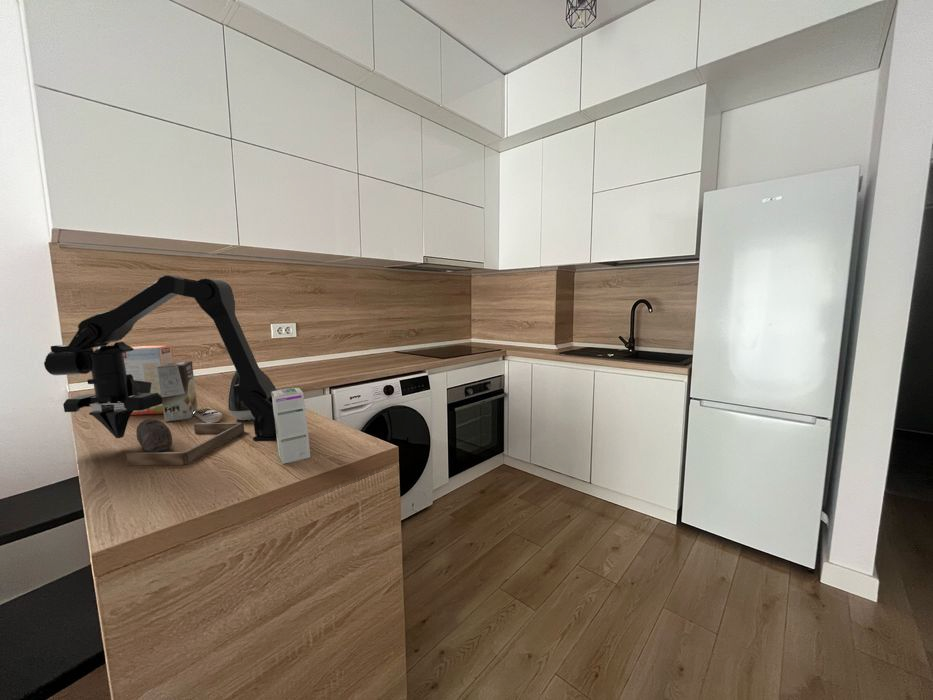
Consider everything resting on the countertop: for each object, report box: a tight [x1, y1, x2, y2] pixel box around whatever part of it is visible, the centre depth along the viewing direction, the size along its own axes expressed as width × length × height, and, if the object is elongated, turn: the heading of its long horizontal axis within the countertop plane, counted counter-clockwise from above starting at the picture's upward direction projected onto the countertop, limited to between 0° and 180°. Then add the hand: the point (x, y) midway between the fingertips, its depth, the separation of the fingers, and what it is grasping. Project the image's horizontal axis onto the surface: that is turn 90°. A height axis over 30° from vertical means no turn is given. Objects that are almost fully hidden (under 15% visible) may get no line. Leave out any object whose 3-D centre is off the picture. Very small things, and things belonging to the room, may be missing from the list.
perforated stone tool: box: [135, 418, 173, 452], centre depth 88 cm, size 15×5×7 cm, turn 50°
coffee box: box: [157, 360, 199, 423], centre depth 112 cm, size 9×6×16 cm
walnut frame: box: [125, 422, 245, 466], centre depth 88 cm, size 13×19×2 cm, turn 178°
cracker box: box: [123, 344, 175, 416], centre depth 118 cm, size 14×6×21 cm, turn 92°
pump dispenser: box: [227, 370, 255, 422], centre depth 109 cm, size 10×10×15 cm
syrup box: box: [272, 387, 311, 465], centre depth 80 cm, size 6×6×14 cm
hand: (119, 437), depth 89 cm, fingers closed
